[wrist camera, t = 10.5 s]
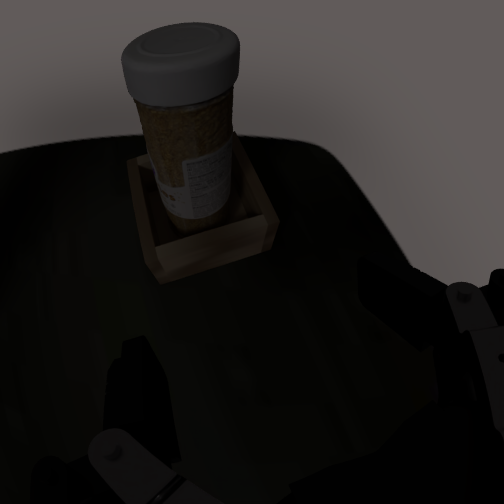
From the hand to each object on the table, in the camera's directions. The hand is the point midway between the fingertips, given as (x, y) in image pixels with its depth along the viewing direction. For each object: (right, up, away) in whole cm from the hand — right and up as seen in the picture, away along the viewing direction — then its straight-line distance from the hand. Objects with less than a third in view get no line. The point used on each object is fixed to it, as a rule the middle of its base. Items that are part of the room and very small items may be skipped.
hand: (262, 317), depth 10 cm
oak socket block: (-4, +5, +11) cm, 13 cm away
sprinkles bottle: (-4, +5, +11) cm, 13 cm away
